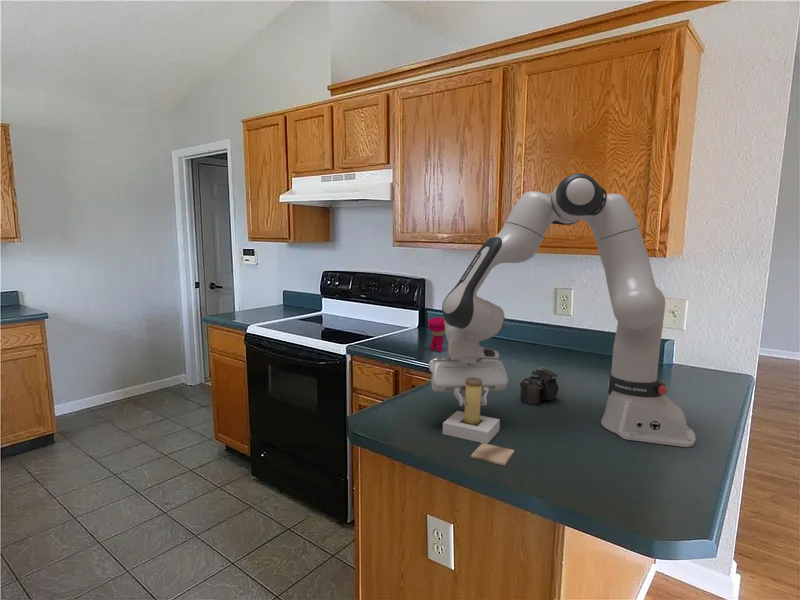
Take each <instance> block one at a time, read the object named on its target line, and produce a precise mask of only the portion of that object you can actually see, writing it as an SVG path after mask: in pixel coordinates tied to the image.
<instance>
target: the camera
mask: <svg viewBox="0 0 800 600" xmlns="http://www.w3.org/2000/svg"><path fill="white" fill-rule="evenodd" d="M557 378H558V375H557V374H556V373H555V372H553V371H551V370H549V369H547V368H545V367H543V366H541V367H540V368H539V367H537V369H536V370H533V371H531V375H530V376H529V377H526V378H524V379H523V380H521V381H520V383H519V385H520V400H521V401H522V402H523V403H525V404H527V405H530V404H531V405H530V406H538V405H539V404H540V402H543V401H552V400H554V399H555V398H556V397H557V396H558V392H559V384H558V383H557Z"/></svg>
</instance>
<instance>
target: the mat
mask: <svg viewBox="0 0 800 600" xmlns="http://www.w3.org/2000/svg"><path fill="white" fill-rule="evenodd" d="M514 454H515V450H514V449H511V448H506V447H504V446H503V447H502V446H498V445H493V444H489V443H488V444H485V443H481V444H480V445H478V447H477V448H476V449H475V450H474V451H473V453H471V455H470V458H471V459H475V460H479V461H482V462H483V461H484V462H487V463H491V464H496V465H500V466H503V467H504V466H505V467H506V465H507V463H508V462H509V461H510V459H511V457H512V456H513V455H514Z"/></svg>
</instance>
